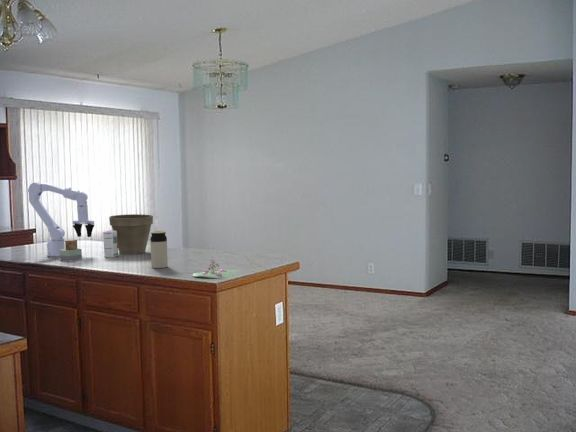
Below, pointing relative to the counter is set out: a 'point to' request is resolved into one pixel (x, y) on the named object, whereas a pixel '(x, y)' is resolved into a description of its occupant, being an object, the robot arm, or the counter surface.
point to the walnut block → (71, 244)
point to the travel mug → (159, 249)
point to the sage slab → (70, 252)
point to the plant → (216, 273)
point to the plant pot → (131, 232)
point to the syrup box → (110, 243)
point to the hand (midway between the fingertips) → (84, 236)
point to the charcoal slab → (70, 257)
